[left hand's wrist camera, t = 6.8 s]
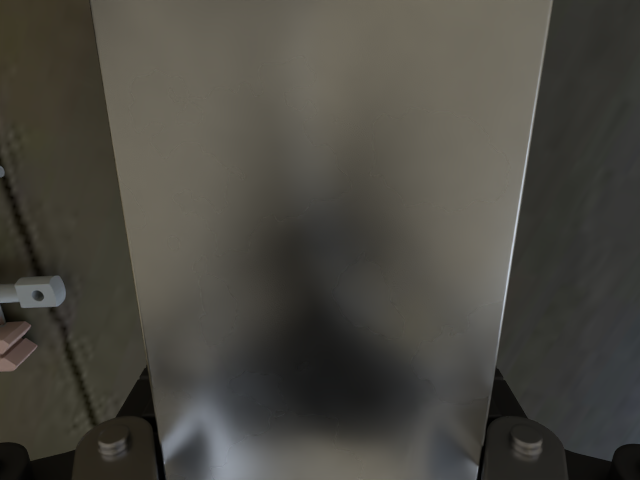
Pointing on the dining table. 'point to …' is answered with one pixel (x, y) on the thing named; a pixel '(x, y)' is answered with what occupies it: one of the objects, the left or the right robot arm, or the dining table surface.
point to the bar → (321, 224)
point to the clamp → (45, 291)
